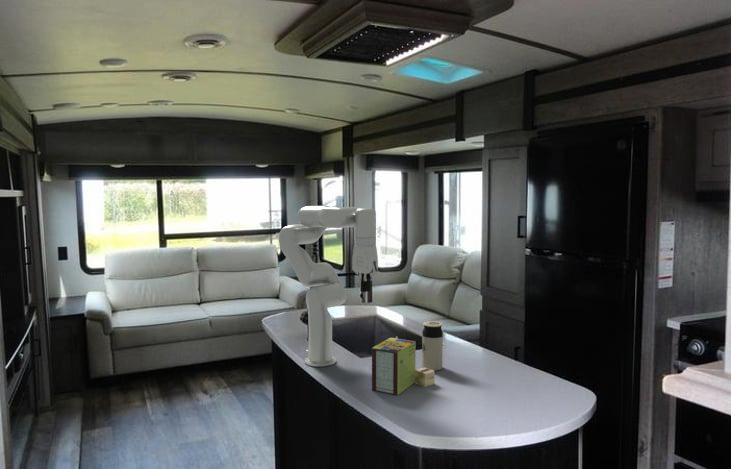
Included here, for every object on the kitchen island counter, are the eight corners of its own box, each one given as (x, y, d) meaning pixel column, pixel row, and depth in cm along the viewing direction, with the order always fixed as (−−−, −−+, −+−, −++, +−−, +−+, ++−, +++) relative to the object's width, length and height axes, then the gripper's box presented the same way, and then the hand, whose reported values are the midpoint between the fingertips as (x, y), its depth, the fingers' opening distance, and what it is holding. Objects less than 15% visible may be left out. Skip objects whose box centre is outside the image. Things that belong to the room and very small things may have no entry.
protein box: (415, 382, 202) (416, 340, 201) (397, 395, 189) (397, 351, 187) (390, 377, 207) (390, 336, 206) (370, 390, 194) (371, 347, 192)
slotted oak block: (414, 383, 201) (415, 369, 200) (424, 380, 204) (424, 366, 204) (424, 387, 197) (425, 373, 197) (434, 384, 200) (434, 370, 200)
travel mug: (441, 365, 221) (442, 321, 220) (442, 371, 213) (443, 326, 212) (421, 364, 222) (422, 320, 221) (422, 370, 214) (422, 325, 213)
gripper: (344, 240, 205) (344, 289, 206) (371, 244, 193) (370, 295, 195) (360, 239, 209) (360, 287, 211) (386, 242, 198) (386, 293, 200)
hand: (365, 291), depth 203 cm, fingers closed
